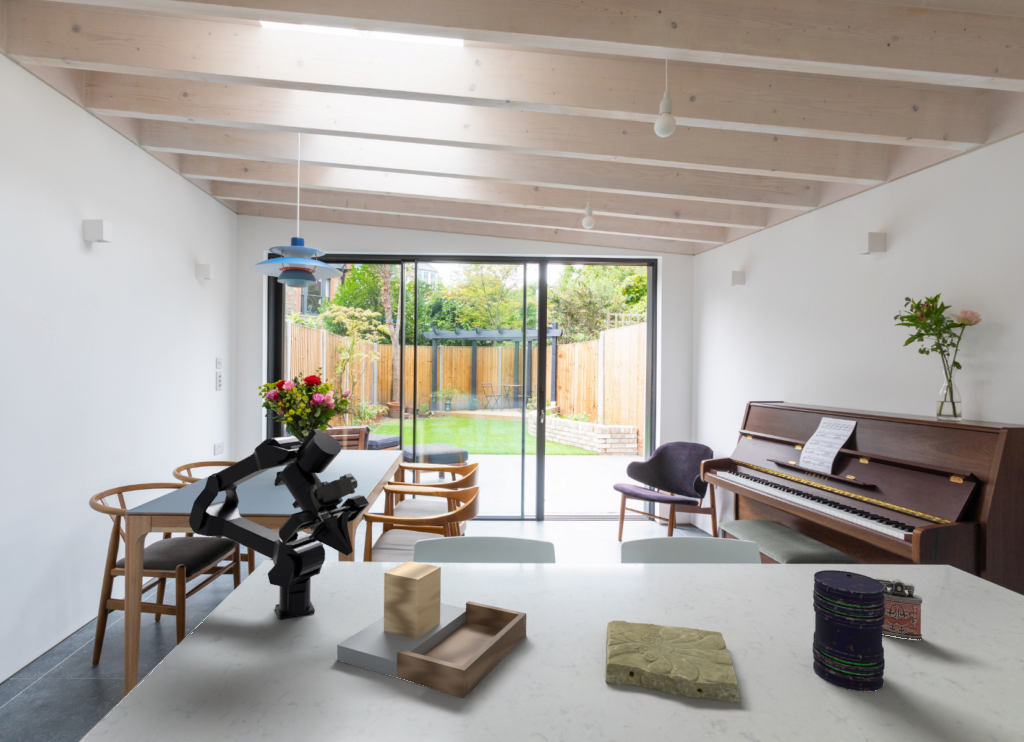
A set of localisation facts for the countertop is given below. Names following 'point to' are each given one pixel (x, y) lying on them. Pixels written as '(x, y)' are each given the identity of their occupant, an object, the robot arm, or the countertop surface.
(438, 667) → the bin
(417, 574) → the block
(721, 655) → the decorative tile
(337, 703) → the countertop surface
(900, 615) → the lighter
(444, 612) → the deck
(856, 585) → the dark blue barrel
